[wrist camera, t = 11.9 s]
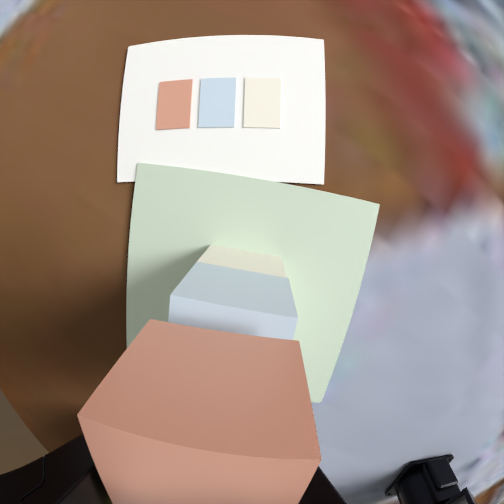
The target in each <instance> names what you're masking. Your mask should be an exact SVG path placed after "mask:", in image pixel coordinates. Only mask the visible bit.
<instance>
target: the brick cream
mask: <svg viewBox="0 0 504 504" xmlns="http://www.w3.org/2000/svg"><path fill="white" fill-rule="evenodd" d="M197 262H202V263H207V264H213V265H218V266H223V267H229V268H234V269H240V270H245V271H251V272H257V273H262V274H268V275H274V276H279V277H285V278H287V277H286V272H285V268H284V264H283V260H282V257H280V256H275V255H269V254H263V253H258V252H252V251H246V250H240V249H235V248H229V247H223V246H218V245H212V244H211V245H210V246H209V247H208V249H207V250H206V251H205V252H204V253H203V255H202V256H201V257H200V258H199V260H198V261H197Z"/></svg>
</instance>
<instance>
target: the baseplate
mask: <svg viewBox="0 0 504 504" xmlns="http://www.w3.org/2000/svg"><path fill="white" fill-rule="evenodd" d="M379 205H380V204H376V203H372V202H368V201H364V200H360V199H356V198H351V197H347V196H342V195H338V194H333V193H329V192H324V191H319V190H315V189H310V188H305V187H300V186H295V185H289V184H284V183H279V182H273V181H268V180H262V179H256V178H250V177H244V176H238V175H232V174H225V173H219V172H212V171H205V170H197V169H190V168H182V167H174V166H165V165H156V164H146V163H138V166H137V173H136V180H135V188H134V196H133V205H132V214H131V225H130V236H129V250H128V268H127V298H126V336H127V348H128V347H129V345H130V344H131V343H132V341H133V340H134V339H135V338H136V336H137V335H138V334H139V332H140V331H141V330H142V329H143V327H144V326H145V325H146V324H147V322H148V321H149V320H150V319H154V320H159V321H164V322H168V318H169V305H170V294H171V293H172V292H173V291H174V289H175V288H176V287H177V286H178V284H179V283H180V282H181V281H182V279H183V278H184V277H185V276H186V275H187V273H188V272H189V271H190V270H191V268H192V267H193V266H194V265H195V263H196V262H197V261H198V260H199V258H200V257H201V256H202V255H203V253H204V252H205V251H206V250H207V249H208V247H209V246H210V245H211V244H212V245H218V246H223V247H229V248H235V249H240V250H246V251H252V252H258V253H263V254H269V255H275V256H280V257H282V260H283V264H284V268H285V272H286V277H287V278H289V282H290V286H291V290H292V294H293V298H294V302H295V306H296V310H297V315H298V321H297V325H296V329H295V333H294V336H293V340H297V341H299V343H300V348H301V353H302V358H303V363H304V368H305V373H306V378H307V383H308V388H309V394H310V399H311V402H319V403H321V401H322V399H323V396H324V393H325V391H326V388H327V386H328V383H329V381H330V378H331V375H332V372H333V370H334V367H335V364H336V361H337V359H338V356H339V353H340V350H341V347H342V344H343V341H344V338H345V335H346V332H347V329H348V326H349V323H350V319H351V316H352V313H353V310H354V306H355V303H356V299H357V296H358V292H359V289H360V285H361V282H362V278H363V274H364V270H365V267H366V263H367V259H368V255H369V251H370V246H371V242H372V238H373V233H374V229H375V224H376V220H377V215H378V210H379Z"/></svg>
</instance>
